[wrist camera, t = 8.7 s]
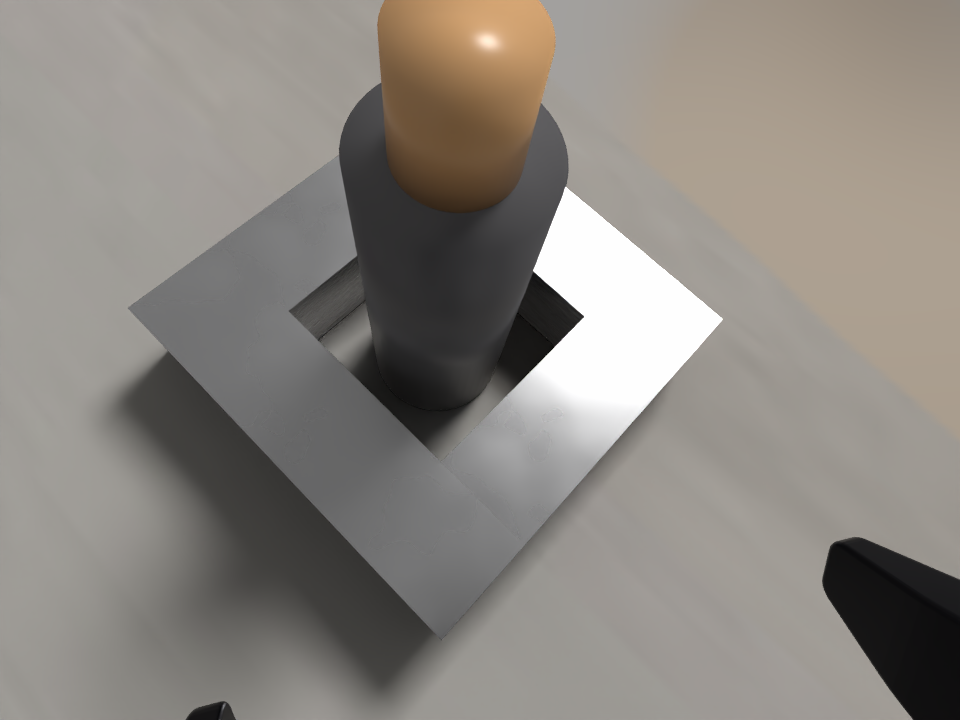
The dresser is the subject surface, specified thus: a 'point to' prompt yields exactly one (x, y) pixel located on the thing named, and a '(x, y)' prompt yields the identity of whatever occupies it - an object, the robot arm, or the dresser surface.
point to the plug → (452, 188)
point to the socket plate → (377, 432)
